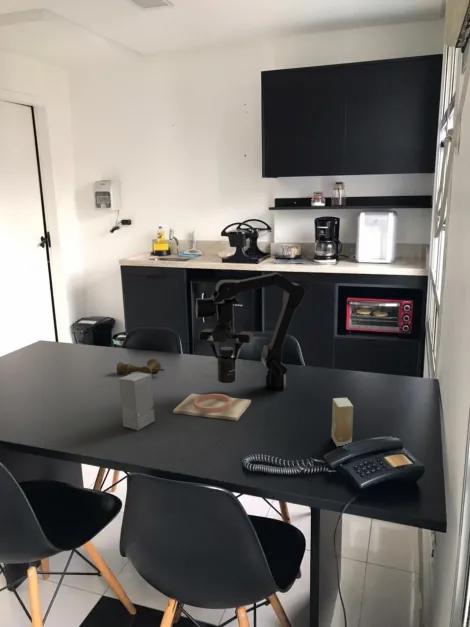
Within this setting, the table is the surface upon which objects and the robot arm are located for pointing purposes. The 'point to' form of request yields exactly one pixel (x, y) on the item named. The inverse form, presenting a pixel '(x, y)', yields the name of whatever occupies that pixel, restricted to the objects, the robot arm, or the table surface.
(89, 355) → the table surface
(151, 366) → the kendama
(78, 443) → the table surface
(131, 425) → the skincare box
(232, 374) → the supplement bottle
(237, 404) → the birch board
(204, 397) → the ring collar
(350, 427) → the skincare box
